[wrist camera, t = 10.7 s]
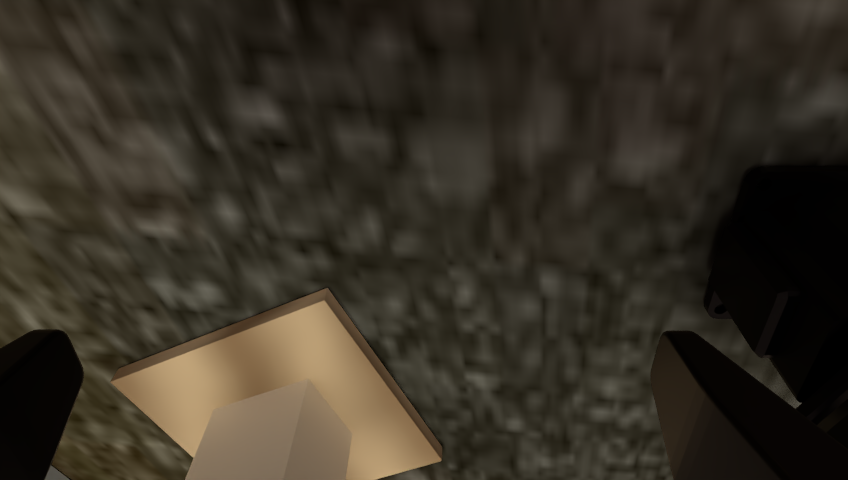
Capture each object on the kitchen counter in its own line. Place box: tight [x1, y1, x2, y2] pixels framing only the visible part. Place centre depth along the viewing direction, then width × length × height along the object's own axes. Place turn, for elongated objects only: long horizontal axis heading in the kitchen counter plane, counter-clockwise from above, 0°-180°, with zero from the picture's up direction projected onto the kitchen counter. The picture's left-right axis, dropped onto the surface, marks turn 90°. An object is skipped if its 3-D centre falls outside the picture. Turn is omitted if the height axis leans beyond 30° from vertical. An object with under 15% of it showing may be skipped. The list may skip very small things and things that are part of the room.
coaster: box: [111, 288, 442, 480], centre depth 27 cm, size 11×11×1 cm
